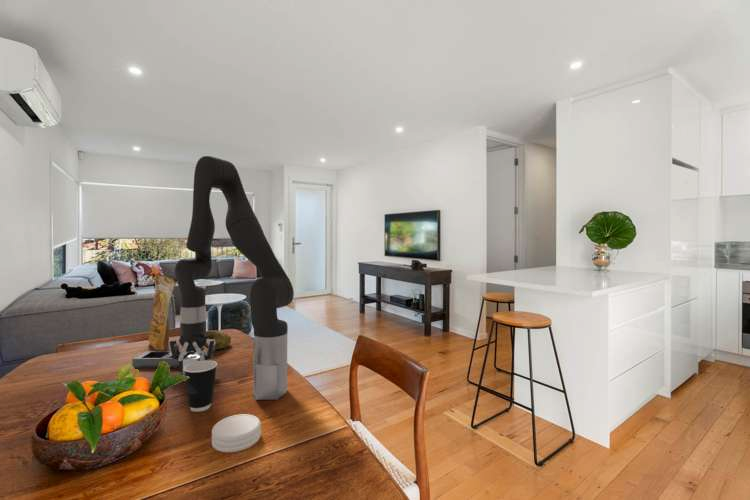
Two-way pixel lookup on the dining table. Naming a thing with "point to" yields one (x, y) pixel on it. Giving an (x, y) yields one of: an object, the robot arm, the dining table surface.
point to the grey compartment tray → (156, 359)
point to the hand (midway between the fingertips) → (193, 371)
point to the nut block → (190, 360)
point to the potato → (218, 339)
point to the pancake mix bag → (161, 313)
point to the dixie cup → (200, 384)
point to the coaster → (236, 433)
